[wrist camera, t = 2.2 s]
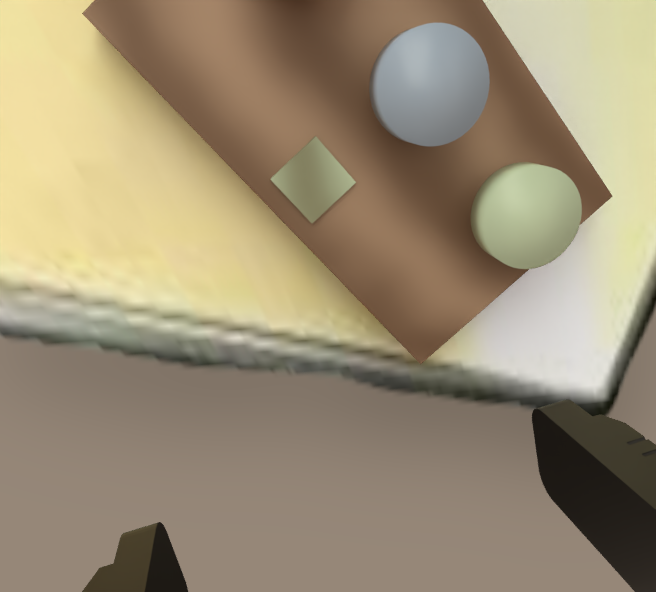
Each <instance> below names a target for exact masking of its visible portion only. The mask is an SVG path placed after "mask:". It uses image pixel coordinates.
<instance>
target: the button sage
mask: <svg viewBox="0 0 656 592" xmlns="http://www.w3.org/2000/svg"><path fill="white" fill-rule="evenodd" d="M581 215H582V204H581V198H580V194H579V192H578V189H577V187H576V185H575V184H574V182H573V181H572V180H571V179H570V178H569V177H568V176H567V175H566V174H565V173H563V172H562V171H560V170H558V169H555V168H552V167H548V166H544V165H539V164H535V163H529V162H519V163H513V164H510V165H507V166H505V167H503V168H501V169H499V170H497V171H496V172H494V173H493V174H492V175H491V176H490V177H489V178H488V179H487V180H486V181H485V182H484V183H483V184H482V186H481V187H480V189H479V190H478V192H477V194H476V196H475V198H474V201H473V205H472V209H471V228H472V232H473V235H474V237H475V239H476V241H477V243H478V244H479V246H480V247H481V248H482V249H483V250H484V251H485V252H487V253H488V254H489V255H491V256H493V257H494V258H496V259H497V260H499V261H501V262H502V263H504V264H506V265H508V266H511V267H513V268H518V269H532V268H537V267H540V266H543V265H545V264H548V263H550V262H551V261H553V260H554V259H556V258H557V257H558V256H560V255H561V254H562V253H563V252H564V251H565V250H566V249H567V247H568V246H569V245H570V244H571V242H572V241H573V239H574V237H575V235H576V233H577V231H578V228H579V225H580V221H581Z"/></svg>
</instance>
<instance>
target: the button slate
mask: <svg viewBox="0 0 656 592" xmlns="http://www.w3.org/2000/svg"><path fill="white" fill-rule="evenodd" d="M489 84H490V79H489V69H488V64H487V61H486V58H485V55H484V53H483V51H482V49H481V48H480V46H479V44H478V43H477V42H476V41H475V39H474V38H473V37H472V36H471V35H469V34H468V33H467V32H465V31H464V30H463V29H461V28H459V27H457V26H454V25H451V24H447V23H428V24H424V25H420V26H417V27H414V28H411V29H409V30H406V31H404V32H402V33H400V34H398V35H397V36H395V37H394V38H393V39H391V40H390V41H389V42H388V43H387V44H386V45H385V46H384V48H383V49H382V50H381V52H380V53H379V55H378V57H377V59H376V60H375V63H374V65H373V68H372V72H371V76H370V83H369V93H370V101H371V105H372V108H373V111H374V113H375V115H376V117H377V119H378V121H379V122H380V123H381V125H382V126H383V127H384V128H385V129H386V130H387V131H388V132H389V133H390V134H391V135H393V136H395V137H396V138H398V139H400V140H403V141H406V142H409V143H413V144H417V145H421V146H440V145H444V144H447V143H450V142H452V141H454V140H456V139H458V138H460V137H461V136H463V135H464V134H465V133H466V132H467V131H468V130H469V129H470V128H471V127H472V126H473V125H474V124H475V123H476V121H477V120H478V118H479V117H480V115H481V113H482V111H483V109H484V107H485V104H486V101H487V98H488V93H489Z"/></svg>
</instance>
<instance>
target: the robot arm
mask: <svg viewBox="0 0 656 592" xmlns="http://www.w3.org/2000/svg"><path fill="white" fill-rule="evenodd" d="M532 423H533V430H534V437H535V444H536V452H537V459H538V467H539V472H540V476H541V480H542V482H543V485H544V486H545V489H546V491H547V493H548V494H549V496H550V497H551V499H552V500H553V501H554V502H555V503H556V505H558V507H559V508H560V509H561V510H562V511H563V512H564V513H565V514H566V516H567V517H568V518H569V519H570V520H571V521H572V522H573V523H574V525H575V526H576V527H577V528H578V529H579V530H580V531H581V532H582V533H583V534H584V536H585V537H587V539H588V540H589V541H590V542H591V543H592V544H593V546H594V547H595V548H596V549H597V550H598V551H599V552H600V553H601V554H602V556H603V557H604V558H605V559H606V560H607V561H608V562H609V563H610V564H611V565H612V567H613V568H614V569H615V570H616V571H617V572H618V573H619V574H620V575H621V577H622V578H623V579H624V580H625V581H626V582H627V583H628V584H629V585H630V587H631V588H632V589H633V590H634V591H635V592H656V445H655V444H654V443H652V442H651V441H650V440H645V438H644V436H643V435H641V434H640V433H638V432H637V431H636V430H634V429H633V428H631V427H630V426H629V425H627V424H626V423H623V422H621V421H618V420H615V419H612V418H609V417H606V416H603V415H601V414H600V415H597V416H593V417H592V416H591V415H590V414H588V413H587V412H586V411H584V410H583V409H582V408H580V407H579V406H578V405H576V404H575V403H574V402H572V401H571V400H567V399H566V400H563V401H560V402H557V403H553V404H550V405H547V406H543V407H540V408H537V409H534V410H533V413H532ZM82 592H188V589H187V585H186V582H185V579H184V576H183V573H182V571H181V568H180V566H179V563H178V560H177V558H176V555H175V552H174V550H173V547H172V545H171V542H170V539H169V537H168V534H167V531H166V529H165V527H164V525H163V524H162V523H160V522H159V523H155V524H152V525H149V526H145V527H142V528H139V529H136V530H132V531H129V532H126V533H123V534H122V535H121V538H120V541H119V545H118V549H117V553H116V557H115V560H114V564H111V565H108V566H104V567H102V568H99V569H98V571H97V572H96V574H95V575H94V576H93V578H92V579H91V581H90V582H89V583H88V585H87V586H86V587H85V589H84V590H83V591H82Z"/></svg>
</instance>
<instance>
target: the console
mask: <svg viewBox="0 0 656 592" xmlns="http://www.w3.org/2000/svg"><path fill="white" fill-rule="evenodd" d="M82 14H83V15H84V16H85V17H86V18H87V19H88V20H89V21H90V22H91V23H92V24H93V25H94V26H95V27H96V28H97V29H98V30H99V31H100V32H101V34H102V35H103V36H104V37H105V38H106V39H107V40H108V41H109V42H110V43H111V44H112V45H113V46H114V47H115V48H116V49H117V50H118V51H119V52H120V53H121V54H122V55H123V56H124V57H125V58H126V59H127V60H128V62H129V63H130V64H131V65H132V66H133V67H134V68H135V69H136V70H137V71H138V72H139V73H140V74H141V75H142V76H143V77H144V78H145V79H146V80H147V81H148V82H149V83H150V84H151V85H152V86H153V87H154V88H155V89H156V91H157V92H158V93H159V94H160V95H161V96H162V97H163V98H164V99H165V100H166V101H167V102H168V103H169V104H170V105H171V106H172V107H173V108H174V109H175V110H176V111H177V112H178V113H179V114H180V115H181V116H182V117H183V118H184V120H185V121H186V122H187V123H188V124H189V125H190V126H191V127H192V128H193V129H194V130H195V131H196V132H197V133H198V134H199V135H200V136H201V137H202V138H203V139H204V140H205V141H206V142H207V143H208V144H209V145H210V146H211V147H212V149H213V150H214V151H215V152H216V153H217V154H218V155H219V156H220V157H221V158H222V159H223V160H224V161H225V162H226V163H227V164H228V165H229V166H230V167H231V168H232V169H233V170H234V171H235V172H236V173H237V174H238V175H239V176H240V178H241V179H242V180H243V181H244V182H245V183H246V184H247V185H248V186H249V187H250V188H251V189H252V190H253V191H254V192H255V193H256V194H257V195H258V196H259V197H260V198H261V199H262V200H263V201H264V202H265V203H266V204H267V205H268V207H269V208H270V209H271V210H272V211H273V212H274V213H275V214H276V215H277V216H278V217H279V218H280V219H281V220H282V221H283V222H284V223H285V224H286V225H287V226H288V227H289V228H290V229H291V230H292V231H293V232H294V233H295V234H296V236H297V237H298V238H299V239H300V240H301V241H302V242H303V243H304V244H305V245H306V246H307V247H308V248H309V249H310V250H311V251H312V252H313V253H314V254H315V255H316V256H317V257H318V258H319V259H320V260H321V261H322V262H323V263H324V265H325V266H326V267H327V268H328V269H329V270H330V271H331V272H332V273H333V274H334V275H335V276H336V277H337V278H338V279H339V280H340V281H341V282H342V283H343V284H344V285H345V286H346V287H347V288H348V289H349V290H350V291H351V293H352V294H353V295H354V296H355V297H356V298H357V299H358V300H359V301H360V302H361V303H362V304H363V305H364V306H365V307H366V308H367V309H368V310H369V311H370V312H371V313H372V314H373V315H374V316H375V317H376V318H377V319H378V320H379V322H380V323H381V324H382V325H383V326H384V327H385V328H386V329H387V330H388V331H389V332H390V333H391V334H392V335H393V336H394V337H395V338H396V339H397V340H398V341H399V342H400V343H401V344H402V345H403V346H404V347H405V348H406V349H407V351H408V352H409V353H410V354H411V355H412V356H413V357H414V358H415V359H416V360H417V361H418V362H419V363H420V364H421V363H423V362H424V361H425V360H426V359H427V358H428V357H429V356H431V355H432V354H433V353H434V352H435V351H436V350H437V349H439V348H440V347H441V346H442V345H443V344H444V343H445V342H447V341H448V340H449V339H450V338H451V337H452V336H453V335H455V334H456V333H457V332H458V331H459V330H460V329H461V328H463V327H464V326H465V325H466V324H467V323H468V322H469V321H471V320H472V319H473V318H474V317H475V316H476V315H477V314H479V313H480V312H481V311H482V310H483V309H484V308H485V307H487V306H488V305H489V304H490V303H491V302H492V301H493V300H495V299H496V298H497V297H498V296H499V295H500V294H501V293H503V292H504V291H505V290H506V289H507V288H508V287H509V286H511V285H512V284H513V283H514V282H515V281H516V280H517V279H519V278H520V277H521V276H522V275H523V274H524V273H525V272H527V271H528V270H529V269H518V268H513V267H511V266H508V265H506V264H504V263H502V262H501V261H499V260H497V259H496V258H494V257H493V256H491V255H489V254H488V253H487V252H485V251H484V250H483V249H482V248H481V247H480V246H479V244H478V243H477V241H476V239H475V237H474V235H473V232H472V228H471V209H472V205H473V201H474V198H475V196H476V194H477V192H478V190H479V189H480V187H481V186H482V184H483V183H484V182H485V181H486V180H487V179H488V178H489V177H490V176H491V175H492V174H493V173H494V172H496V171H497V170H499V169H501V168H503V167H505V166H507V165H510V164H513V163H519V162H529V163H535V164H539V165H544V166H548V167H552V168H555V169H558V170H560V171H562V172H563V173H565V174H566V175H567V176H568V177H569V178H570V179H571V180H572V181H573V182H574V184H575V185H576V187H577V189H578V192H579V194H580V198H581V204H582V215H581V221H580V224H581V223H583V222H584V221H585V220H586V219H587V218H588V217H589V216H591V215H592V214H593V213H594V212H595V211H596V210H597V209H599V208H600V207H601V206H602V205H603V204H604V203H605V202H607V201H608V200H609V199H610V198H611V197H612V195H611V193H610V192H609V190H608V189H607V187H606V186H605V184H604V183H603V181H602V180H601V178H600V177H599V175H598V174H597V172H596V171H595V169H594V168H593V166H592V165H591V163H590V162H589V160H588V159H587V157H586V156H585V154H584V153H583V151H582V150H581V148H580V146H579V145H578V143H577V142H576V140H575V139H574V137H573V136H572V134H571V133H570V131H569V130H568V128H567V127H566V125H565V124H564V122H563V121H562V119H561V118H560V116H559V115H558V113H557V112H556V110H555V109H554V107H553V106H552V104H551V103H550V101H549V100H548V98H547V97H546V95H545V94H544V92H543V91H542V89H541V88H540V86H539V85H538V83H537V82H536V80H535V79H534V77H533V76H532V74H531V73H530V71H529V70H528V68H527V67H526V65H525V64H524V62H523V61H522V59H521V58H520V56H519V55H518V53H517V52H516V50H515V49H514V47H513V46H512V44H511V43H510V41H509V40H508V38H507V37H506V35H505V34H504V32H503V31H502V29H501V28H500V26H499V24H498V23H497V21H496V20H495V18H494V17H493V15H492V14H491V12H490V11H489V9H488V8H487V6H486V5H485V3H484V2H483V0H95V1H94V2H93V3H92V4H91V5H90V6H89V7H88V8H87V9H86V10H85V11H84V12H83V13H82ZM428 23H447V24H451V25H454V26H457V27H459V28H461V29H463V30H464V31H465V32H467V33H468V34H469V35H471V36H472V37H473V38H474V39H475V41H476V42H477V43H478V44H479V46H480V48H481V49H482V51H483V53H484V55H485V58H486V61H487V64H488V69H489V79H490V84H489V93H488V98H487V101H486V104H485V107H484V109H483V111H482V113H481V115H480V117H479V118H478V120H477V121H476V123H475V124H474V125H473V126H472V127H471V128H470V129H469V130H468V131H467V132H466V133H465V134H464V135H463V136H461V137H460V138H458V139H456V140H454V141H452V142H450V143H447V144H444V145H440V146H421V145H417V144H413V143H409V142H406V141H403V140H400V139H398V138H396V137H395V136H393V135H391V134H390V133H389V132H388V131H387V130H386V129H385V128H384V127H383V126H382V125H381V123H380V122H379V121H378V119H377V117H376V115H375V113H374V111H373V108H372V105H371V101H370V93H369V83H370V76H371V72H372V68H373V65H374V63H375V60H376V59H377V57H378V55H379V53H380V52H381V50H382V49H383V48H384V46H385V45H386V44H387V43H388V42H389V41H390V40H391V39H393V38H394V37H395V36H397V35H398V34H400V33H402V32H404V31H406V30H409V29H411V28H414V27H417V26H420V25H424V24H428Z"/></svg>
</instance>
